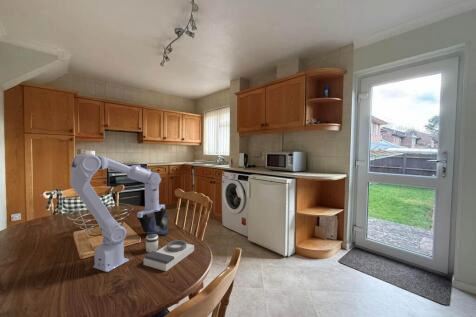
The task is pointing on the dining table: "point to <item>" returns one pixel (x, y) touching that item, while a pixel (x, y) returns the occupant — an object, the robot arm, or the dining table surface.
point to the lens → (152, 243)
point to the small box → (158, 229)
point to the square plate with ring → (168, 255)
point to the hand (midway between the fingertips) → (152, 228)
